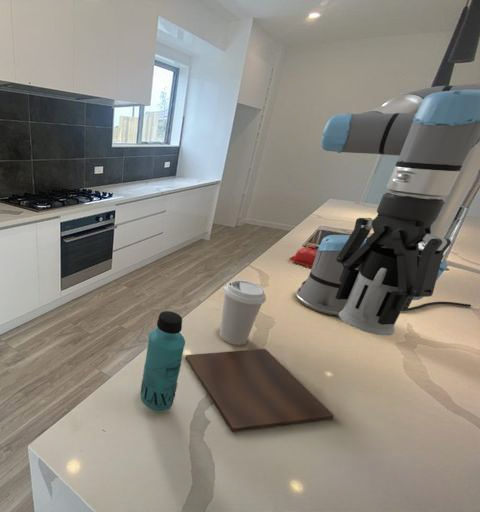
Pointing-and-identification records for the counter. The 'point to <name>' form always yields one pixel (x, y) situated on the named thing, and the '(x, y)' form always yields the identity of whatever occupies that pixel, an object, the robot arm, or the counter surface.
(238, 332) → the coffee cup
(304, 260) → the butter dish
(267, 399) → the walnut board
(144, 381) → the beverage bottle
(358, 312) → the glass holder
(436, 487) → the counter surface
